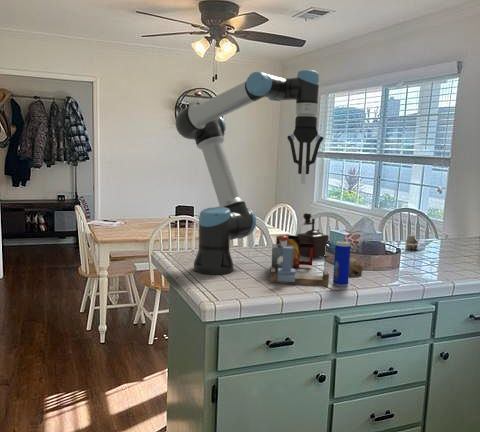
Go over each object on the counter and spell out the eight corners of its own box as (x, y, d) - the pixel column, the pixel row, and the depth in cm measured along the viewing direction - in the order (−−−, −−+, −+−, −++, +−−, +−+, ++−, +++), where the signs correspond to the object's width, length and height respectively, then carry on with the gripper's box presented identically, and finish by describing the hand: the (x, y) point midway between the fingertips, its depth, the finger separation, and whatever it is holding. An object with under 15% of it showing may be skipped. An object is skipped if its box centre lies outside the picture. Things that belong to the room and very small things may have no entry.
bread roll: (342, 285, 181) (349, 268, 177) (327, 268, 188) (334, 252, 184) (362, 283, 186) (370, 266, 182) (347, 266, 193) (354, 250, 189)
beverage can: (331, 282, 171) (333, 240, 169) (345, 282, 171) (348, 241, 169) (335, 286, 165) (337, 243, 163) (349, 286, 166) (352, 243, 164)
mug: (313, 268, 191) (314, 238, 190) (281, 270, 187) (282, 239, 185) (301, 262, 200) (303, 234, 199) (271, 264, 196) (272, 235, 194)
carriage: (277, 280, 166) (278, 249, 165) (277, 275, 174) (279, 244, 172) (294, 281, 166) (296, 250, 164) (294, 276, 173) (295, 245, 172)
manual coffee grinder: (329, 255, 216) (331, 216, 214) (311, 258, 210) (313, 217, 208) (305, 249, 229) (307, 212, 227) (288, 251, 223) (290, 213, 220)
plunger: (277, 254, 180) (278, 236, 179) (278, 253, 184) (278, 235, 183) (287, 255, 180) (288, 237, 179) (287, 253, 184) (288, 235, 183)
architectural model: (419, 251, 237) (420, 236, 236) (409, 252, 234) (410, 236, 233) (414, 249, 240) (415, 235, 239) (404, 250, 237) (405, 235, 236)
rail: (270, 282, 168) (270, 271, 167) (270, 278, 173) (271, 267, 173) (328, 285, 166) (328, 274, 165) (326, 281, 171) (327, 270, 171)
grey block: (271, 274, 179) (272, 248, 177) (271, 269, 187) (272, 243, 186) (292, 275, 178) (294, 249, 177) (292, 270, 186) (293, 244, 185)
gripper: (287, 114, 166) (284, 183, 169) (326, 115, 165) (322, 184, 168) (287, 116, 173) (284, 182, 176) (324, 117, 172) (320, 183, 175)
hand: (302, 183), depth 172 cm, fingers closed
